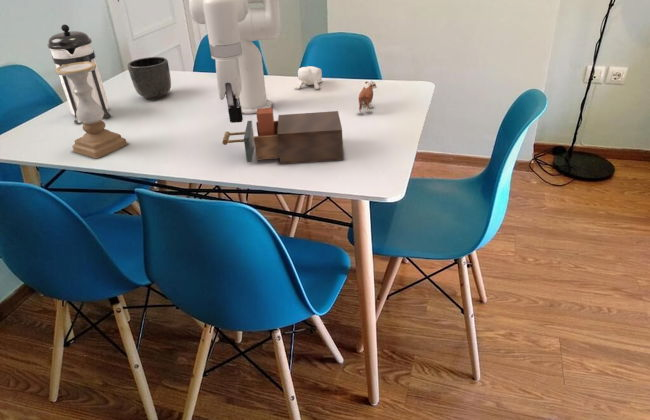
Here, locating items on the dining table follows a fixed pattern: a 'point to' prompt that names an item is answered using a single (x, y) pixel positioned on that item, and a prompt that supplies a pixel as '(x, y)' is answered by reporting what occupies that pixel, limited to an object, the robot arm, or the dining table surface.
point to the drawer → (256, 143)
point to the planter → (150, 77)
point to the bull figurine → (366, 96)
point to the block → (265, 121)
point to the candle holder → (90, 114)
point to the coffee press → (76, 50)
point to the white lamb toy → (309, 76)
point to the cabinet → (310, 137)
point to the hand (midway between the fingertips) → (236, 121)
